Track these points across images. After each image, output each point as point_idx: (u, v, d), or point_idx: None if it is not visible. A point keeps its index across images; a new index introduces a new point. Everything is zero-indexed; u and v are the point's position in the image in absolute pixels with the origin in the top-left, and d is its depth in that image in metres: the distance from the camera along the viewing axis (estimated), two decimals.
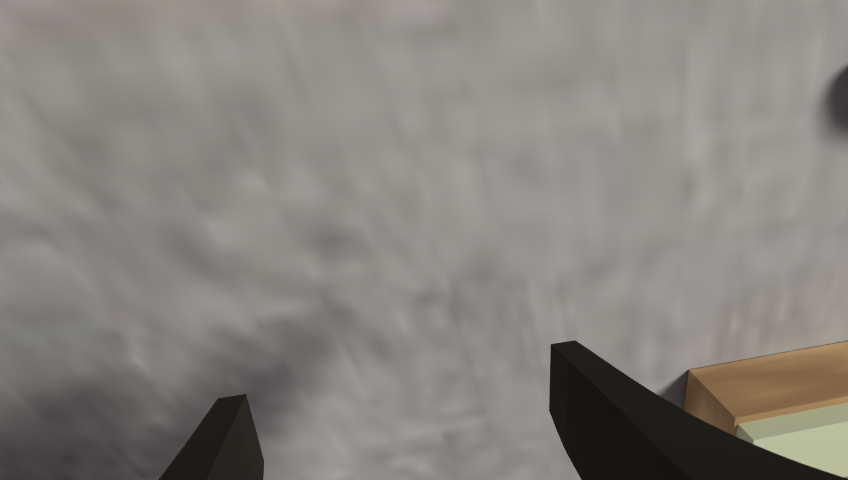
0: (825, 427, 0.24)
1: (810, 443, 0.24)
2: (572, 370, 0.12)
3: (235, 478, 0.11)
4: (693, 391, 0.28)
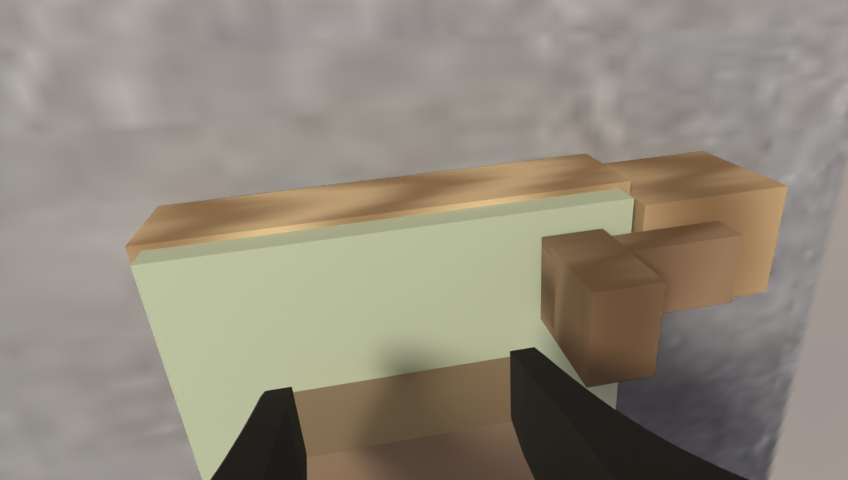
0: (203, 474, 0.19)
1: None
2: (527, 377, 0.12)
3: (287, 469, 0.11)
4: None
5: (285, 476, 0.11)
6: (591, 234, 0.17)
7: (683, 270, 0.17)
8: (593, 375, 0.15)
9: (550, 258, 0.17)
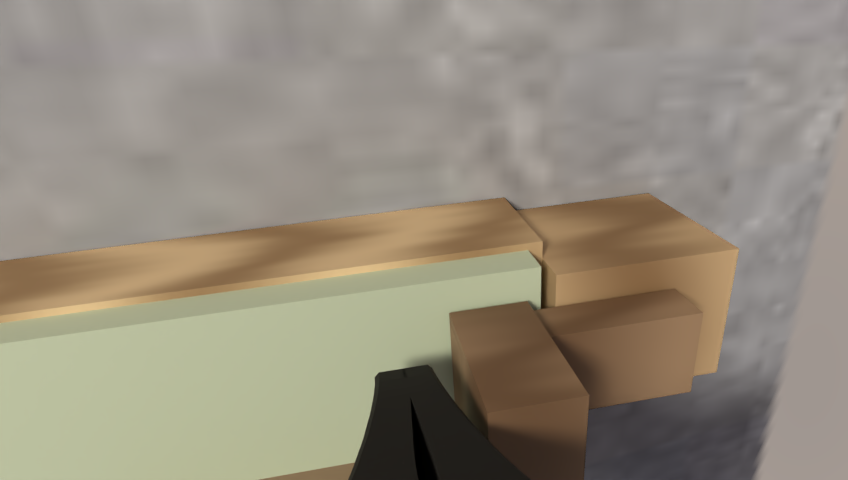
0: None
1: None
2: None
3: None
4: None
5: (415, 452, 0.11)
6: (511, 310, 0.13)
7: (628, 356, 0.13)
8: None
9: (456, 343, 0.13)
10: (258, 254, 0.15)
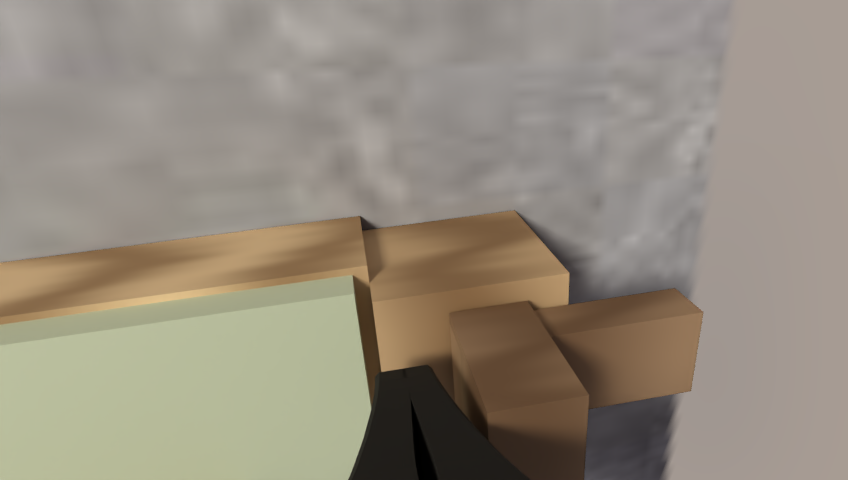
0: None
1: None
2: None
3: (415, 446, 0.11)
4: None
5: (415, 452, 0.11)
6: (511, 310, 0.13)
7: (627, 355, 0.13)
8: None
9: (456, 343, 0.13)
10: (79, 279, 0.14)
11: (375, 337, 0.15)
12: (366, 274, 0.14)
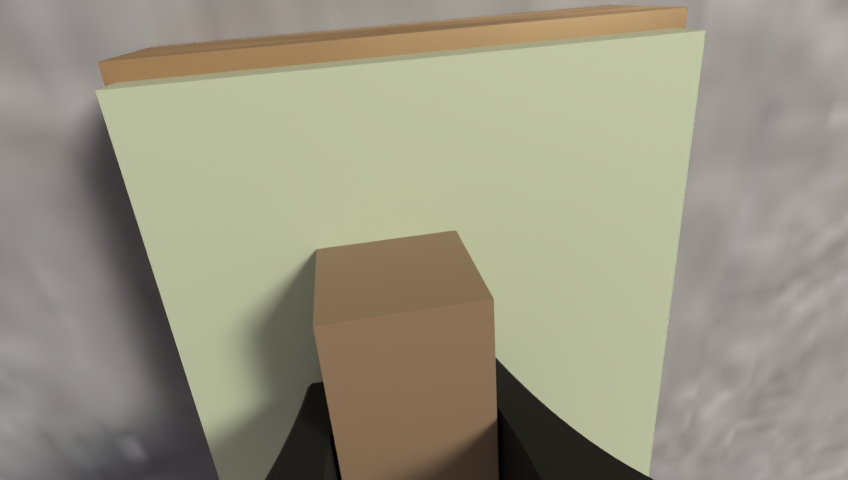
0: (295, 76, 0.10)
1: (273, 123, 0.10)
2: None
3: None
4: None
5: (338, 466, 0.11)
6: None
7: None
8: None
9: None
10: None
11: None
12: None
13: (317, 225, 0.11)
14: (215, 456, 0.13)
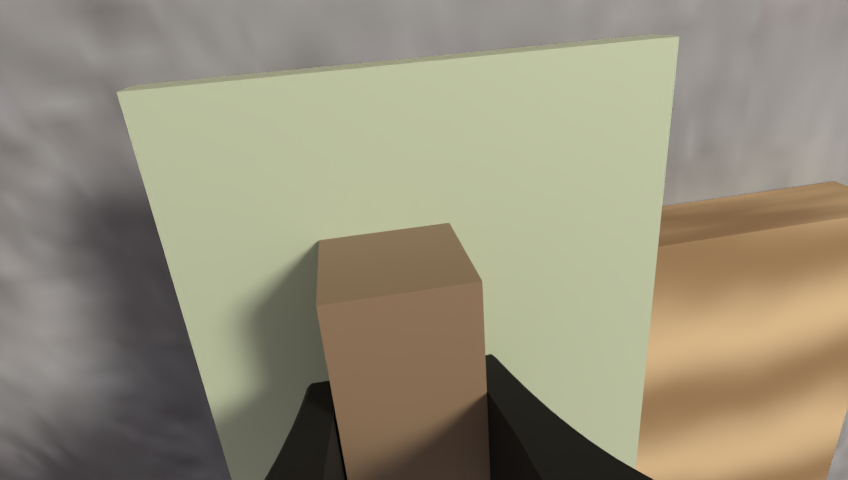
0: (300, 79, 0.11)
1: (279, 122, 0.11)
2: None
3: (339, 459, 0.11)
4: None
5: (338, 466, 0.11)
6: None
7: None
8: None
9: None
10: None
11: None
12: None
13: (320, 217, 0.12)
14: (222, 438, 0.14)
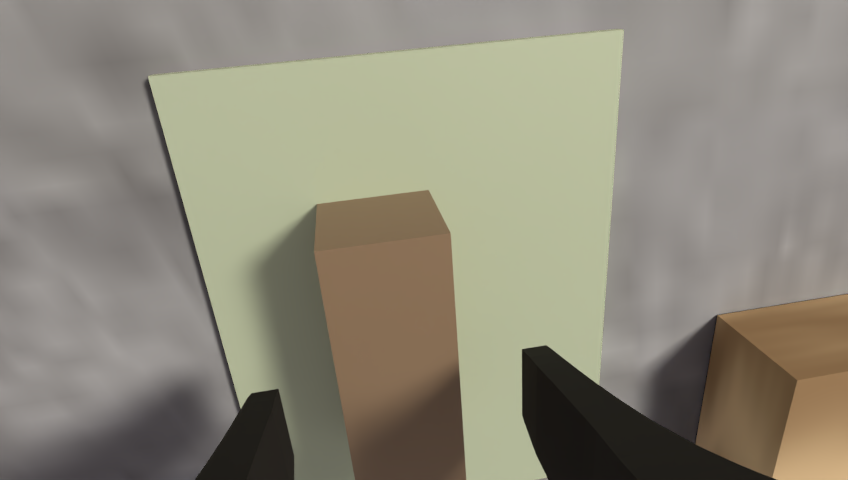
0: (300, 66, 0.13)
1: (283, 102, 0.13)
2: (540, 375, 0.12)
3: (272, 471, 0.11)
4: (724, 346, 0.18)
5: (269, 479, 0.10)
6: None
7: None
8: None
9: None
10: None
11: None
12: None
13: (317, 184, 0.14)
14: (235, 377, 0.16)
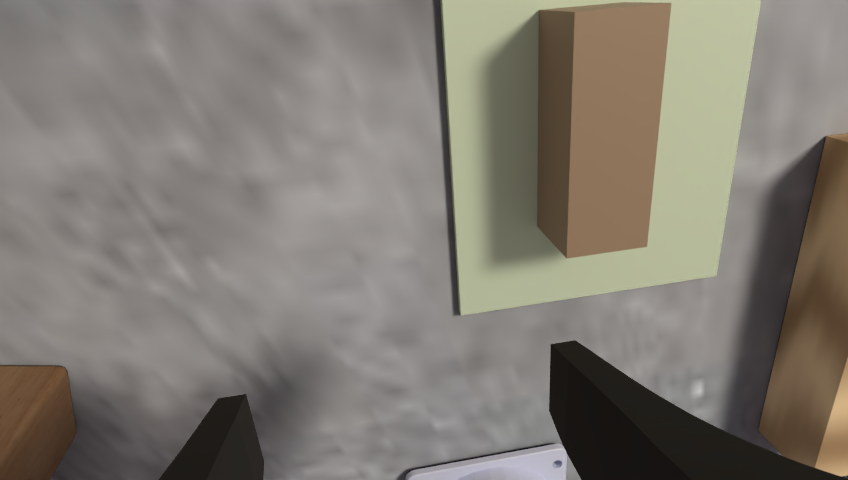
0: None
1: None
2: (572, 370, 0.12)
3: (235, 478, 0.11)
4: (832, 160, 0.23)
5: None
6: None
7: None
8: None
9: None
10: None
11: None
12: None
13: None
14: (453, 165, 0.20)
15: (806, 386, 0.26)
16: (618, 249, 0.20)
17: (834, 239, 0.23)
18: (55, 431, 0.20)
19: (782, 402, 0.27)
